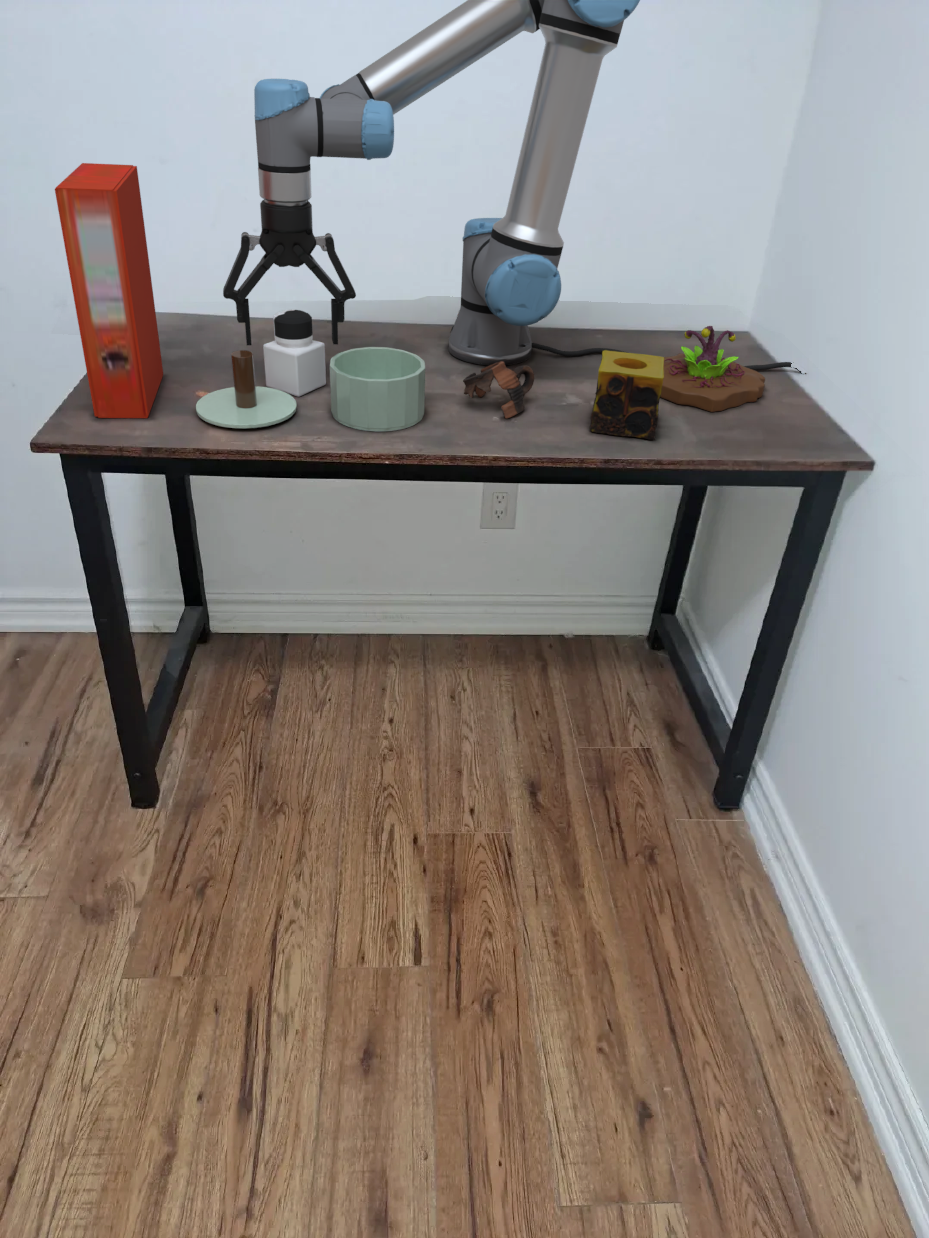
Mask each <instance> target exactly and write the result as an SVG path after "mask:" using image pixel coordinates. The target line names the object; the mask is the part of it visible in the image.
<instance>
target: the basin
mask: <svg viewBox="0 0 929 1238" xmlns="http://www.w3.org/2000/svg"><path fill="white" fill-rule="evenodd" d="M329 360H330V361H329V381H330V382H329V383H330V385H329V386H330V387H329V388H330V411H331V415H332V417H333V419H334V420H335V421H336V422H338V423H339V424H341V425H343V426H345V427H348V428H350V429H354V430H360V431H364V432H365V431H366V432H376V433H377V432H378V433H379V432H382V433H383V432H384V433H385V432H394V431H400V430H404V429H408V428H410V427H413V426H416V425H417V424H419V423H420V422H421V421H422V420H423V418H424V417H425V416H424V415H425V400H426V399H425V398H426V397H425V395H426V394H425V393H426V362H425V360H424V359H422V358H421V357H420V356H419V355H418V354H415V353H412V352H410V351H407V350H404V349H398V348H394V347H387V346H365V347H357V348H350V349H347V350H344V351H341V352H338V353H336V354H335V355H334V356H332V357H331V358H330V359H329Z"/></svg>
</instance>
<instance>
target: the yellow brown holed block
mask: <svg viewBox="0 0 929 1238" xmlns="http://www.w3.org/2000/svg"><path fill="white" fill-rule="evenodd" d="M626 352H627V351H624V352H615V351H607V350H604V351H603V352H602V353H601V359H600V364H599V366H598V372H597V383H596V390H595V398H594V401H593V405H592V412H591V416H590V426H589V430H590V432H592V433H596V434H603V435H611V436H616V437H617V436H618V437H628V438H629V437H630V438H631V437H633V438H638V439H643V440H648V441H654V440H655V439H656V438H655V437H656V432H657V425H658V420H659V408H660V407H659V406H660V399H661V390H662V385H663V378H664V370H663V367H664V357H665V356H660V355H652V354H645V353H644V354H643V353H634V352H628V353H626Z"/></svg>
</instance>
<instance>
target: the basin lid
mask: <svg viewBox="0 0 929 1238" xmlns="http://www.w3.org/2000/svg"><path fill="white" fill-rule="evenodd" d="M230 357H231V359H230V360H231V367H232V368H231V369H232V377H233V379H232V380H233V386H231V387H226V388H225V387H224V388H220V389H217V390H214V391H211V392H209V393H207V394H205V395H203V396H202V397H200V398H199V399H198V401H197V402H196V404H195V412H196V415H197V416H198V417H199V418H200V419H201V420H203V421H205V422H206V423H208V424H210V425H215V426H218V427H222V428H232V429H257V428H265V427H269V426H274V425H276V424H280V423H282V422H284V421H286V420H289V419H290V418H291V417H293V415H294V414H295V413H296V412H297V407H298V406H297V405H298V403H297V401H296V399H295V398H294V397H293V395H291V394H288V393H285V392H283V391H280V390H277V389H273V388H269V387H267V386H256V385H257V384H256V373H255V361H254V360H255V359H254V353H253V352H252V351H250V350H245V349H242V350H235V351H232V352H231V354H230Z"/></svg>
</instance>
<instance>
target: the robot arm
mask: <svg viewBox="0 0 929 1238" xmlns="http://www.w3.org/2000/svg"><path fill="white" fill-rule="evenodd" d="M640 1H641V0H466V1H464V2H463V3H461V4H460V5H458V6H456V7H455V8H453V9H452V10H450V11H449V12H448V13H446V14H444V15H443V16H441V17H440V18H438V19H437V20H435V21H434V22H432V23H431V24H429V25H428V26H426V27H425V28H423V29H422V30H421V31H419V32H417V33H416V34H414V35H413V36H411V37H410V38H408V39H407V40H405V41H404V42H402V43H401V44H399V45H398V46H396V47H395V48H393V49H391V50H389V52H387V53H386V54H384V55H382V56H381V57H379V58H378V59H376V60H375V61H373V62H372V63H370V64H369V65H368V66H366V67H364V68H363V69H361V70H360V71H358V73H356V74H354V75H353V76H351V77H349V78H348V79H346V80H345V81H343V82H342V83H340V84H339V83H338V84H334V85H330V86H329V87H327V88H326V89H325V90H324V91H323V92H322V93H321V94H320V96H319V97H314V96H311V95H310V93H309V87H308V85H307V83H306V82H305V81H303V80H297V79H288V78H264V79H260V80H259V81H257V82H256V84H255V85H254V89H253V91H254V92H253V93H254V95H253V96H254V97H253V98H254V126H255V127H254V128H255V139H256V140H255V141H256V154H257V155H256V157H257V171H258V172H257V173H258V190H259V197H260V198H261V199H262V200H261V201H260V202H259V207H260V208H259V209H260V225H261V226H260V227H261V231H260V235H253V234H249V233H248V232H247V231H242V233H241V235H240V248H239V250H238V253H237V254H236V257H235V260H234V262H233V265H232V266H231V269H230V272H229V274H228V276H227V279H226V281H225V284H224V286H223V289H222V295H223V297H224V299H227V300H228V299H229V300H232V301H233V302H235V308H236V319H237V322H238V324H244V328H245V341H246V346H253V344H252V332H251V330H252V329H251V319H250V318H251V317H250V316H251V315H250V305H249V303H250V302H249V298H247V297H248V296H249V294H250V293H251V292H252V291H253V289H254V288H255V287H256V285H258V283H259V282H260V280H261V279H262V278H263V277H264V276H265V274H266V273H267V272H268V271H269V270H270V269H271V267H272V266H273V265H276V266H277V267H278V268H285V267H292V268H293V267H294V268H300V266H303V265H305V266H306V267H307V268H308V269H309V271H311V272H312V273H313V274H314V276H315V277H316V278H317V279H318V281H319V282H320V283H321V284H322V285H323V286H324V288H325V289H326V290H327V291H328V292H329V294H330V295H331V296H332V297H333V298H331V299H330V310H331V311H330V312H331V313H330V314H331V342H332V344H333V345H334V346H335V345H337V346H338V345H339V323H344V322H345V315H346V314H345V303H346V302H347V301H348V300H354V299H355V298H356V297H357V294H356V290H355V288H354V286H353V284H352V282H351V280H350V277H349V276H348V274H347V272H346V270H345V267H344V266H343V264H342V261H341V259H340V258H339V256H338V254H337V251H336V247H335V240H334V237H333V235H332V234H331V232H327V233H325V234H324V235H320V236H315V234H314V232H313V204H312V203H311V202H310V200H311V198H312V169H311V157H313V158H315V157H316V158H342V159H344V158H345V159H362V160H363V159H364V160H365V159H366V160H367V161H371V160H373V159H375V160H376V159H388V158H389V157H390V156H391V154H392V153H393V150H394V142H395V117H394V115H396V114H397V113H398V112H400V111H402V110H403V109H405V108H407V106H409V105H411V104H412V103H414V102H416V101H417V100H419V99H420V98H422V97H423V96H425V95H427V94H428V93H430V92H432V91H433V90H434V89H436V88H437V87H439V86H440V85H442V84H443V83H445V82H446V81H448V80H450V79H451V78H452V77H454V76H456V75H457V74H459V73H460V72H462V71H463V70H465V69H467V68H468V67H470V66H471V65H473V64H475V63H476V62H478V61H479V60H480V59H482V58H485V57H486V56H487V55H488V54H490V53H491V52H493V51H494V50H496V49H498V48H499V47H501V46H502V45H504V44H505V43H507V42H509V41H510V40H511V39H513V38H515V37H516V36H518V35H519V34H521V33H522V32H527V33H530V34H534V33H536V32H537V31H540V33H541V34H542V36H543V38H544V46H543V47H544V48H543V52H542V56H541V60H540V65H539V69H538V73H537V77H536V82H535V85H534V89H533V95H532V99H531V104H530V108H529V112H528V117H527V122H526V125H525V129H524V134H523V138H522V142H521V145H520V150H519V155H518V158H517V163H516V168H515V173H514V176H513V177H514V178H513V181H512V185H511V189H510V194H509V197H508V203H507V205H506V206H507V207H506V211H505V214H504V216H503V217H478V218H473V219H469V220H468V221H466V223H465V225H464V230H463V236H462V243H463V244H462V263H461V287H460V288H461V289H460V306H459V310H458V313H457V316H456V319H455V321H454V324H453V325H452V327H451V330H450V332H449V333H450V334H449V337H448V352H449V353H450V355H452V356H453V357H455V358H457V359H458V360H461V361H463V362H466V363H470V364H474V365H481V366H490V365H492V364H494V363H497V362H500V361H503V362H504V363H505V366H511V365H517V364H521V363H523V362H525V361H527V360H528V359H530V358H531V357H532V350H533V349H536V350H541V351H545V352H549V353H551V354H555V355H558V356H562V357H579V356H585V355H591V354H602V352H603V351H604V350H607V351H615V352H626V353H629V352H628V351H623V350H620V349H614V348H608V347H593V348H586V349H585V348H584V349H580V350H563V349H562V350H561V349H558V348H555V347H552V346H549V345H544V344H541V343H536V342H533V341H532V337H531V333H530V329H529V326H532V325H535V324H537V323H539V322H540V321H542V320H543V319H545V318H547V317H548V316H549V315H550V314H551V313H552V312H553V311H554V309H555V308H556V306H557V304H558V303H559V300H560V297H561V293H562V279H561V274H560V271H559V270H558V268H559V265H560V261H561V258H562V253H563V249H564V244H565V242H564V239H563V237H562V236H561V234H560V232H559V226H560V223H561V220H562V215H563V212H564V208H565V203H566V201H567V196H568V193H569V189H570V186H571V181H572V177H573V173H574V170H575V165H576V162H577V159H578V158H577V157H578V154H579V151H580V147H581V143H582V139H583V136H584V131H585V127H586V124H587V120H588V117H589V112H590V109H591V105H592V102H593V98H594V94H595V90H596V86H597V82H598V78H599V74H600V71H601V68H602V65H603V64H602V63H603V60H604V58H605V57H606V55H608V54H609V53H611V52H612V51H614V50H615V49H616V48H618V45H619V41H620V37H621V33H622V30H623V26H624V22H625V20H627V19H628V17H630V15H631V14H632V13H633V12H634V11H635V10H636V8H637V7H638V5H639V4H640ZM258 245H259V247H261V249H262V251H264V254H263V256H262V257H261V259H260V261H259V262H258V263H257V264H256V266H255V267H254V268H253V270H252V271H251V272H249V275H248V276H247V277H246V278H245V280H244V281H243V283H241V285H240V286H239V287H238V289H235V288H236V286H237V284H238V281H239V280H240V279H239V278H240V276H241V274H242V272H243V269H244V267H245V265H246V263H247V260H248V257H249V254H250V252H251V251H254V250H255V248H256V246H258ZM317 246H319V247H320V248H321V251H323V252H326V253H327V256H328V258H329V260H330V262H331V264H332V266H333V268H334V270H335V272H336V274H337V277H338V278H339V281H340V282H341V285H342V287H343V288H344V289H342V290H341V289H340V287H339V286H338V285H337V284H336V283H335V281H333V279H332V277H330V276H329V274H327V272H326V271H325V270H324V269H323V268H322V267H321V265H320V264H319V263H318V261H317V260H316V259H315V257H314V256H313V255H312V253H313V252H314V250H315V248H316V247H317ZM791 362H792V361H783V362H782V361H779V362H773V363H767V364H753V365H743V366H744V367H746V368H749V369H752V370H755V371H767V370H774V369H779V368H781V369H782V368H791V369H793V368H792V367H791V364H792V363H791ZM794 370H797V372H799V374H802V373H801V372H800V371H799V370H798V369H797V368H794ZM802 375H803V374H802Z"/></svg>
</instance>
